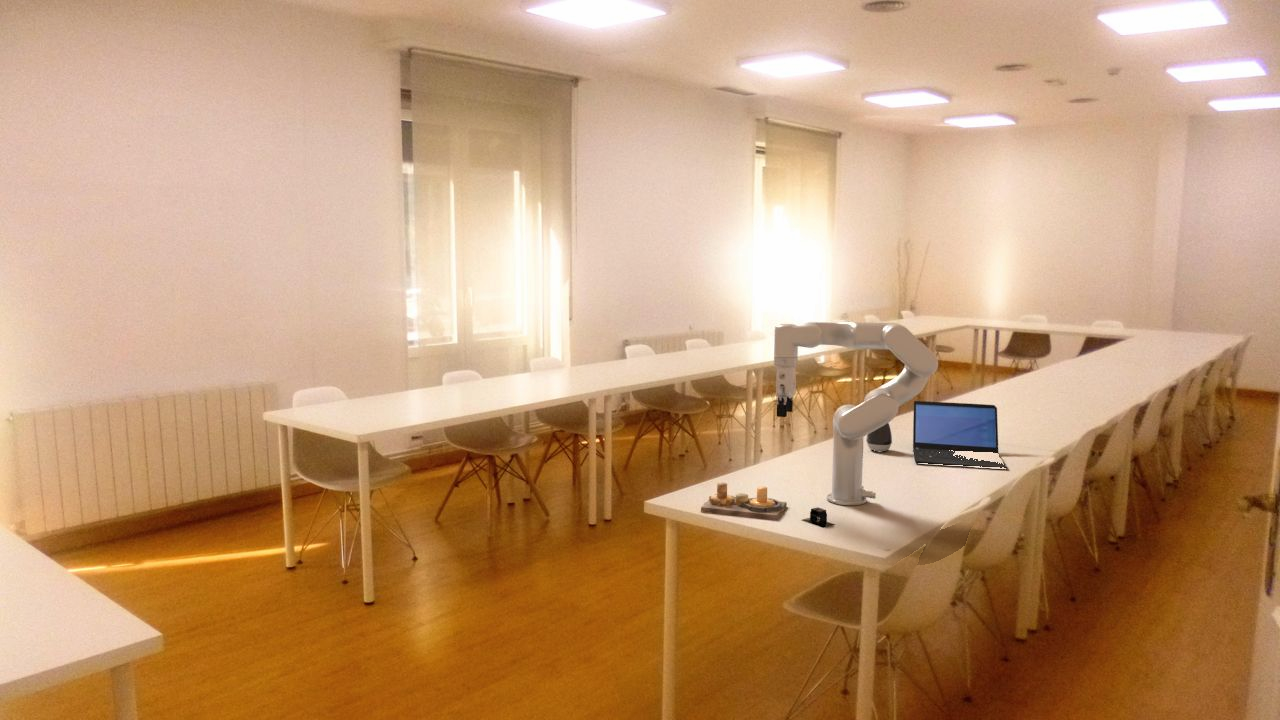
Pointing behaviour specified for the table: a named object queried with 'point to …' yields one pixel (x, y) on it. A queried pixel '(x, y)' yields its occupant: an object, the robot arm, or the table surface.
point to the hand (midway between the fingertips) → (784, 414)
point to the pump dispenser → (880, 438)
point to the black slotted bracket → (816, 521)
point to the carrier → (740, 505)
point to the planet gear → (761, 499)
